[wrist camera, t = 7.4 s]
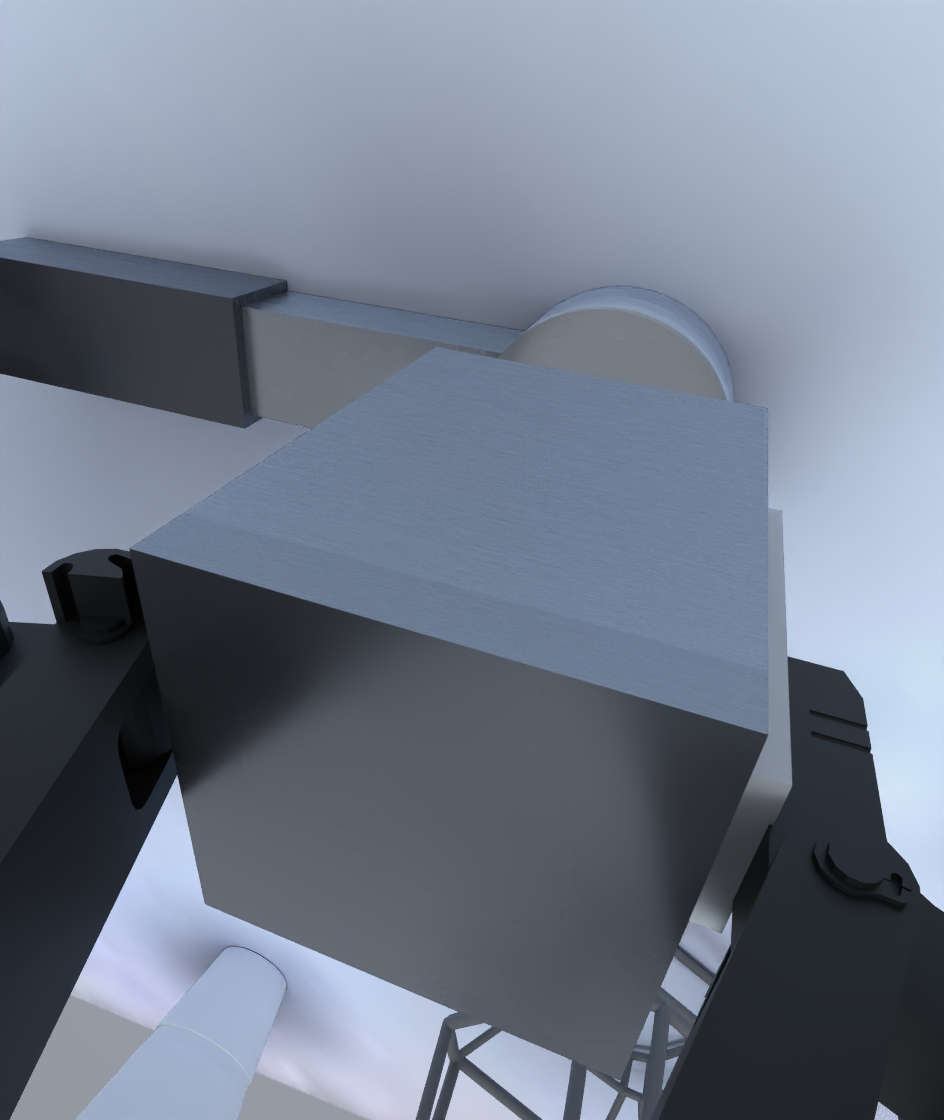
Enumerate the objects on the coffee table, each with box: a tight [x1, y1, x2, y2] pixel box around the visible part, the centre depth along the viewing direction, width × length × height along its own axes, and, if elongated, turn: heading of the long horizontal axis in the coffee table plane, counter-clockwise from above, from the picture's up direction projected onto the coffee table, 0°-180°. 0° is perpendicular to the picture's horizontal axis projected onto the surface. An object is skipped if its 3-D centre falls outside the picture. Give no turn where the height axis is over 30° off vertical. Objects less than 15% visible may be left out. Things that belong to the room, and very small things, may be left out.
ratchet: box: [0, 237, 734, 428], centre depth 20 cm, size 24×6×7 cm, turn 86°
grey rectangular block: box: [130, 347, 769, 1080], centre depth 11 cm, size 6×6×8 cm
